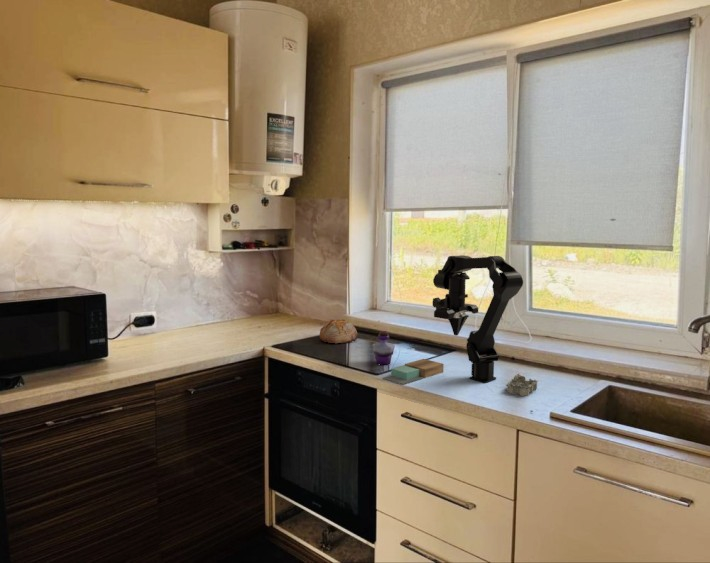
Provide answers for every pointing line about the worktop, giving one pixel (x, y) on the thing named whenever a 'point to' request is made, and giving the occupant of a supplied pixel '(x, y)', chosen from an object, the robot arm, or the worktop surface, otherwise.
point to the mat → (401, 381)
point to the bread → (338, 332)
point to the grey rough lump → (521, 385)
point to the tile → (405, 372)
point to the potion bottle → (383, 349)
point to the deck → (426, 367)
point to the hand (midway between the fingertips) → (455, 335)
